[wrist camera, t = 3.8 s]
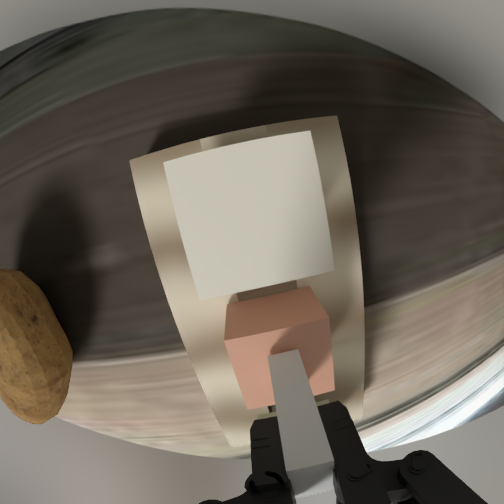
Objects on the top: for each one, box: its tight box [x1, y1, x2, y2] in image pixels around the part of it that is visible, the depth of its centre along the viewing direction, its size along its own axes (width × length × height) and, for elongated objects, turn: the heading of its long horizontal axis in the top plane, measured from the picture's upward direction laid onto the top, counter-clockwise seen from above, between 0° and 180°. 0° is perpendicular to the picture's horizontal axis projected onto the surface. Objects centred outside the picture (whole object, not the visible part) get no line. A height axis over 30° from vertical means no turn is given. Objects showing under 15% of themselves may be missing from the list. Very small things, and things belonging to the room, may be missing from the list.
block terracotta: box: [224, 286, 335, 410], centre depth 16 cm, size 5×5×6 cm
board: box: [130, 115, 365, 447], centre depth 18 cm, size 24×12×2 cm, turn 12°
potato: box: [0, 269, 73, 424], centre depth 15 cm, size 10×14×8 cm
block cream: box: [163, 131, 334, 300], centre depth 12 cm, size 5×5×6 cm
